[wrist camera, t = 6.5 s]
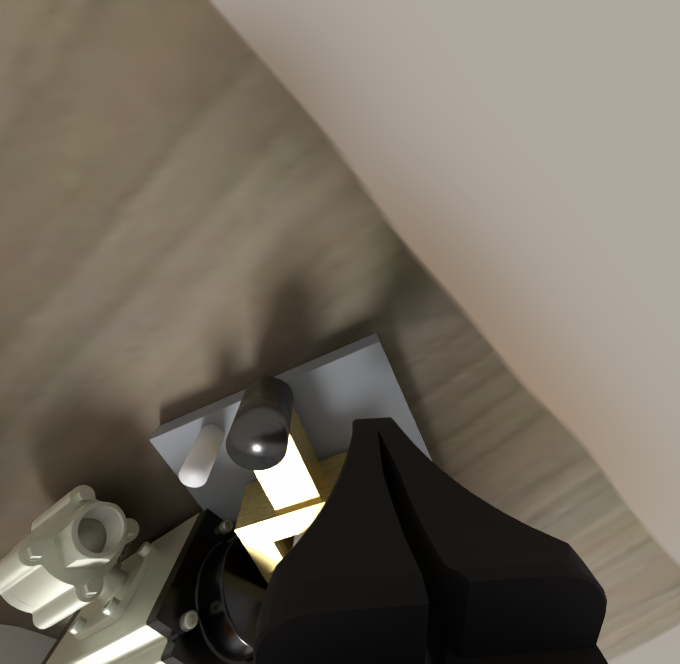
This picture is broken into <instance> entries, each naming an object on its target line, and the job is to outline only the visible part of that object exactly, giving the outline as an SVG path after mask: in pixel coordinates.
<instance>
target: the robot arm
mask: <svg viewBox="0 0 680 664" xmlns="http://www.w3.org/2000/svg"><path fill="white" fill-rule="evenodd" d="M606 605H607V599H606V596H605V592H604V590H603V588H602V587H601V585H600V584H599V583H598V581H597V580H596V578H595V577H594V576H593V574H592V573H591V571H590V570H589V569H588V567H587V566H586V565H585V563H584V562H583V561H582V559H581V558H580V557H579V556H578V555H577V553H576V552H575V551H574V550H573V549H572V547H571V546H570V545H569V544H568V543H566V542H564V541H561V540H559V539H557V538H555V537H552V536H550V535H548V534H546V533H543V532H541V531H539V530H537V529H534V528H532V527H530V526H528V525H526V524H524V523H522V522H520V521H518V520H516V519H515V518H513V517H511V516H509V515H507V514H505V513H503V512H502V511H500V510H498V509H496V508H495V507H493V506H491V505H490V504H488V503H487V502H485V501H483V500H482V499H480V498H479V497H477V496H475V495H474V494H472V493H471V492H470V491H468V490H467V489H465V488H464V487H463V486H461V485H460V484H459V483H457V482H456V481H455V480H453V479H452V478H451V477H449V476H448V475H447V474H446V473H444V472H443V471H442V470H441V469H440V468H439V467H438V466H437V465H435V464H434V463H433V462H432V461H431V460H430V459H429V458H428V457H427V456H426V455H425V454H424V453H423V452H422V451H421V450H420V449H419V448H418V447H417V446H416V445H415V444H414V443H413V442H412V441H411V439H410V438H409V437H408V436H407V435H406V434H405V433H404V432H403V430H402V429H401V428H400V427H399V426H398V424H397V423H396V422H395V421H394V420H393V419H392V418H391V417H385V418H367V419H355V420H354V421H353V422H352V437H351V442H350V446H349V449H348V453H347V456H346V459H345V462H344V464H343V467H342V469H341V472H340V474H339V477H338V479H337V481H336V483H335V485H334V487H333V489H332V491H331V493H330V495H329V497H328V498H327V500H326V502H325V504H324V505H323V507H322V509H321V510H320V512H319V513H318V515H317V516H316V518H315V519H314V521H313V522H312V523H311V525H310V526H309V527H308V529H307V530H306V531H305V533H304V534H303V535H302V537H301V538H300V539H299V541H298V542H297V543H296V544H295V545H294V546H293V548H292V549H291V550H290V551H289V552H288V553H287V554H286V555H285V556H284V557H283V559H282V560H281V561H280V562H279V563H278V564H277V565H276V566H275V569H274V571H273V574H272V576H271V579H270V581H269V584H268V586H267V589H266V592H265V595H264V598H263V601H262V604H261V608H260V612H259V616H258V620H257V625H256V632H255V638H254V645H253V663H254V664H608V663H607V661H606V659H605V658H604V656H603V655H602V653H601V651H600V650H599V648H598V647H597V645H596V643H597V639H598V636H599V633H600V630H601V626H602V623H603V620H604V617H605V613H606Z"/></svg>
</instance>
